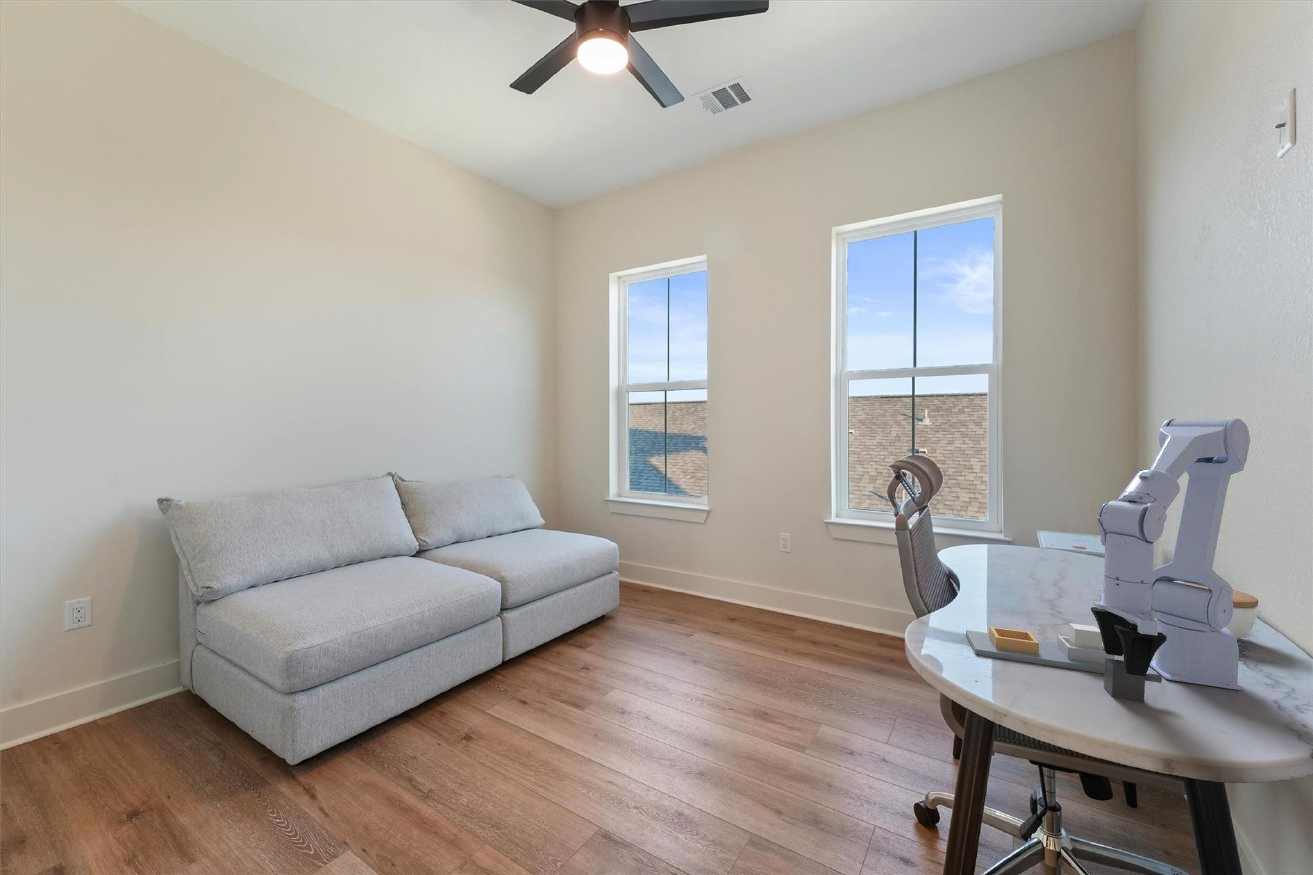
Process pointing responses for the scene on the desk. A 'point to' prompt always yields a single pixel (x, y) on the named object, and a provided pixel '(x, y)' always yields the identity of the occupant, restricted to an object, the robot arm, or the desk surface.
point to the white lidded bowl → (1240, 612)
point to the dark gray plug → (1125, 681)
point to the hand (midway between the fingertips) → (1124, 664)
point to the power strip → (1045, 647)
